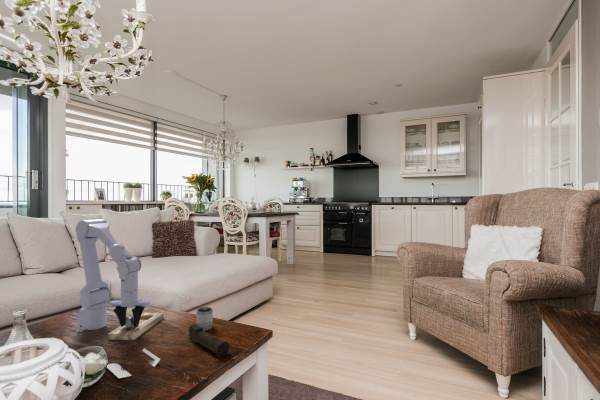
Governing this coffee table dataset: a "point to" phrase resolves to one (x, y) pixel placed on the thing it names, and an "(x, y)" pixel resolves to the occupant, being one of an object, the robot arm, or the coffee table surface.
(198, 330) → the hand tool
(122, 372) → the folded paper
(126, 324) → the grey cylinder
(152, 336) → the coffee table surface
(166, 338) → the coffee table surface
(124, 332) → the tool board
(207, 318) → the camera lens
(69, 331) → the coffee table surface
